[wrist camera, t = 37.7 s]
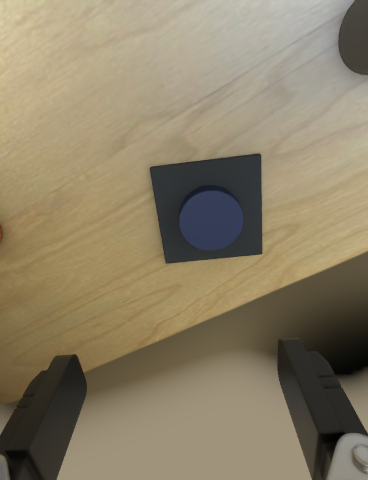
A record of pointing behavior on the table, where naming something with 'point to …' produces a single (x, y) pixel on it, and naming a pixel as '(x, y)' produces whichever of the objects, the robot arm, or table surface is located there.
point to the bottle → (355, 37)
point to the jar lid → (210, 218)
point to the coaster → (203, 174)
